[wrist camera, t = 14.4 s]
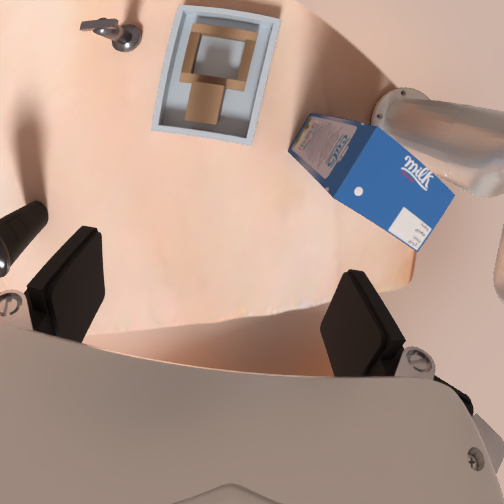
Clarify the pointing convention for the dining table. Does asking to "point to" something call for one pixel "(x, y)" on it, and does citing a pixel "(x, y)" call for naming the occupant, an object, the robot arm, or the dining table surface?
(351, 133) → the milk carton
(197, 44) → the ring
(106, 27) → the gray bar-topped pedestal
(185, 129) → the tray
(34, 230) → the drinking cup
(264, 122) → the dining table surface
